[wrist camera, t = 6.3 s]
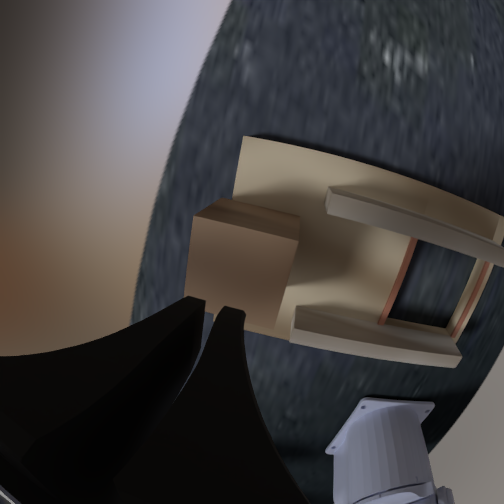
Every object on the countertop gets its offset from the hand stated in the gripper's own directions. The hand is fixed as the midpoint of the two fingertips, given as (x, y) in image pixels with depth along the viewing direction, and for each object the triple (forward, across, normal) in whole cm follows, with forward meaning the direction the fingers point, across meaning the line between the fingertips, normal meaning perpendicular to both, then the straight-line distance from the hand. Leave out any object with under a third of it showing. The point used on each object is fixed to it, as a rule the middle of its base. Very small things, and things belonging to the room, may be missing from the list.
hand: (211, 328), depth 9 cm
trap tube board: (+9, -7, 0) cm, 12 cm away
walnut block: (+8, 0, 0) cm, 8 cm away
